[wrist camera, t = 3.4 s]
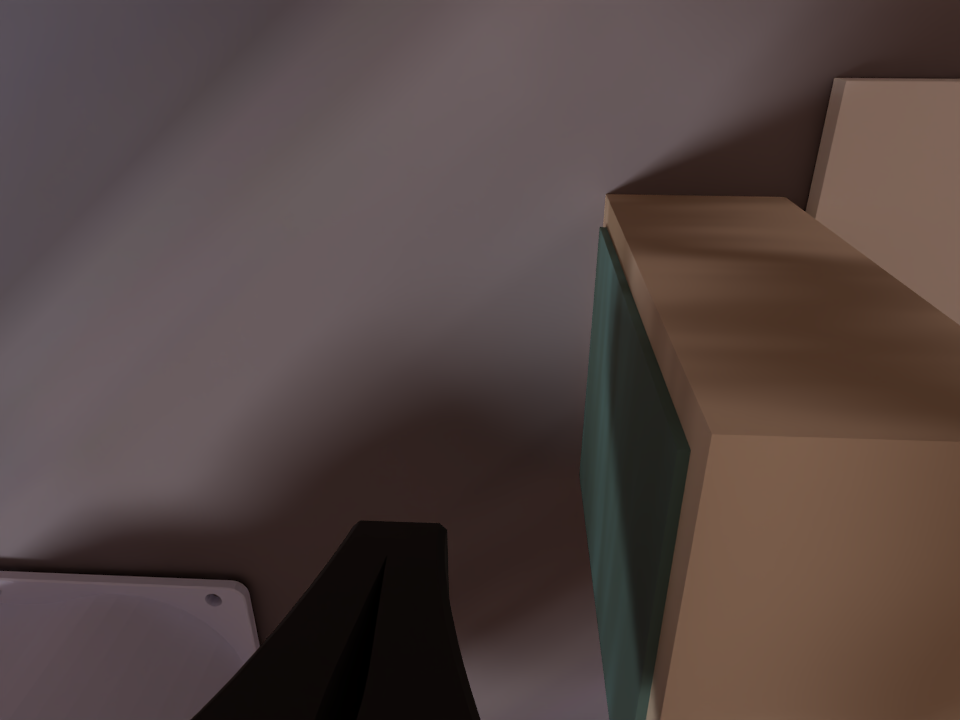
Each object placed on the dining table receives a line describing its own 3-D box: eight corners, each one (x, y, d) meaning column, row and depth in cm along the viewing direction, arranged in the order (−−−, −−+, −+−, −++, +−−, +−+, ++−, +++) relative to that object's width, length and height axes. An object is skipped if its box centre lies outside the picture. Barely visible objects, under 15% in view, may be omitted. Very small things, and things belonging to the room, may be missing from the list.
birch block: (576, 479, 20) (621, 875, 11) (599, 193, 16) (697, 433, 7) (727, 484, 19) (900, 892, 11) (784, 196, 16) (1125, 446, 7)
